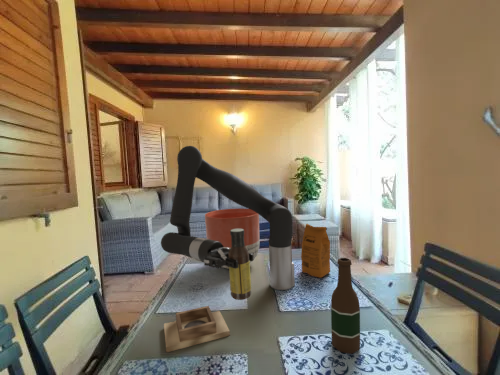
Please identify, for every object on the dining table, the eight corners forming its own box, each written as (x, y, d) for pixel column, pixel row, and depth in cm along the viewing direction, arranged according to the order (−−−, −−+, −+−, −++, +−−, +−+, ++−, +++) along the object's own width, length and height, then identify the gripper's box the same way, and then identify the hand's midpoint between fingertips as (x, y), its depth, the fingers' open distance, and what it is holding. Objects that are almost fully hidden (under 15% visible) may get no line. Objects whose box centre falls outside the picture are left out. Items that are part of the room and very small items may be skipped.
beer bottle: (326, 337, 77) (324, 255, 75) (352, 334, 78) (351, 253, 76) (337, 356, 69) (336, 265, 67) (366, 353, 70) (365, 263, 68)
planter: (270, 261, 139) (268, 209, 137) (241, 281, 117) (238, 220, 115) (229, 254, 154) (226, 207, 152) (196, 270, 131) (193, 216, 129)
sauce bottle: (251, 290, 83) (249, 226, 81) (251, 300, 77) (250, 231, 75) (230, 291, 83) (227, 227, 81) (229, 301, 76) (226, 232, 75)
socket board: (219, 315, 91) (219, 302, 90) (229, 335, 80) (229, 320, 79) (164, 328, 85) (163, 314, 84) (166, 352, 73) (165, 336, 73)
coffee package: (311, 266, 131) (310, 221, 129) (333, 273, 121) (332, 225, 119) (297, 271, 125) (296, 225, 123) (319, 279, 115) (318, 229, 113)
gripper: (187, 244, 82) (227, 255, 71) (221, 234, 93) (260, 242, 82) (189, 268, 82) (228, 282, 72) (222, 255, 94) (260, 266, 83)
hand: (245, 261), depth 77 cm, fingers closed on sauce bottle, 6 cm apart
